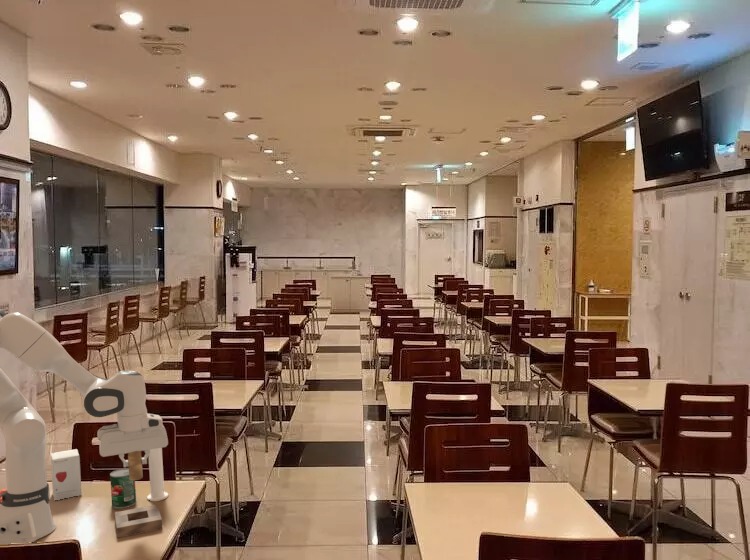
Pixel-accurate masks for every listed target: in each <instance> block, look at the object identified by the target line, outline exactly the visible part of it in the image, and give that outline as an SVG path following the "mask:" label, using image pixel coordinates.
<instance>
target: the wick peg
mask: <svg viewBox="0 0 750 560" xmlns="http://www.w3.org/2000/svg"><path fill="white" fill-rule="evenodd" d="M142 458H143V456H142V451H135V452H131V453H127V460H128V461H129V467H128V468H129V479H130V480H135V481H139V480H141V479H143V477H144V474H143V464H142Z"/></svg>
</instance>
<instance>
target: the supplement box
mask: <svg viewBox="0 0 750 560" xmlns="http://www.w3.org/2000/svg"><path fill="white" fill-rule="evenodd" d="M80 462H81V458H80V454H79V450H78V449H77V448H75V449H69V450H60V451H57V452H55V451H54V452H51V453H50V469H51V486H52V489H51V490H52V496H53V500H54V501H55V500H58V501H61V500H60V499H63V500H65V499H64V498H68V499H70V498H69V497H73V496H78V497H80V496H79V495H83V494H82V481H81V480H82V477H81V463H80ZM73 498H74V497H73Z"/></svg>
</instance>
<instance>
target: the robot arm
mask: <svg viewBox="0 0 750 560" xmlns="http://www.w3.org/2000/svg"><path fill="white" fill-rule="evenodd" d="M0 348H1V349H4V350H7V352H9V353H10V354H12V355H13V356H14V357H15V359H16V358H17V360H19V361H20V362H22V364H24V365H25V366H28V367H29V368H31V369H33V370H34V371H37V372H43V373H44V372H46V373H52V374H55V375H57V376H59V377H60V378H62V379H63V380H65V381H66V382H67V383H69V384H70V385H71V386H72V387H74V388H75V389H77V390H78V391H79V393H80V394H81V395H82V397H83V407H84V411H86V413H87V414H89V416H91V417H94V418H104V417H108V416H111V415H114V414H116V417H117V418H116V419H117V423H114V424H110V425H103V426H102V427H100V428H99V429H98V430H97V432H96V433H97V434H96V435H97V440H99V455H100V456H101V457H103V458H105V457H111V456H112V457H113V456H117V455H118V457H119V459H120V460H121V462H122V465H123V468H129V461H128V459H125V458H124V457H125V454H128V453H131V452H135V451H141V452H144V453H145V454H144V456H142V465H147V464H148V459H149V454H150V449H157V448H162V449H163V448H167V446H168V445H169V439H168V435H167V434H168V433H167V430H166V428H165V426H164V424H163V423H164V422H163V417H161V415H159V414H154V413H148V409H147V405H146V400H147V389H146V384H145V383H146V382H145V379H144V376H143V375H142V374H141V372H138V371H135V370H128V369H127V370H120V371H117V373H115V374H114V375H113V376H112V377H110V378H106V377H105V378H104V377H101V376H98V375H95V374H93V373H92V372H90V371H89V370H88V369H87V368H86V367H84V365H82V364H80V363H79V362H78V361H76V359H74V358H73V357H72V356H71V355H70V354H69V353H68V352H67V350H66V349H65V348H64V347H63V345H62V344H61V343H60V342H59V341H58V340H57V338H55V336H54V335H52V333H50V332H49V331H48V330H46V329H45V328H44V327H43V326H42V325H41V324H39V323H38V322H36V321H35V320H33V319H31V318H30V317H28V316H27V315H25V314H23V313H20V312H17V311H16V312H10V313H8V314H7V313H6V312H5V311H4V310H3V309H1V308H0ZM0 431H1V433H2V435H3V436H4V441H5V480H6V488H1V489H0V544H11V543H29V542H33V543H34V542H36V541H37V540H38V539H39V540H40V539H41V538H43V537H45V536H47V535H49V534H51V533H53V532H54V531H55V530H56V527H57V525H56V523H55V520H54V517H53V515H52V511H51V505H50V502H51V501H50V499H51V493H50V492H51V491H50V485H49V483H48V478H47V463H46V461H47V460H46V455H47V453H46V452H47V425H46V422H45V420H44V418H43V417H42V416H41V415H40V414H39V412H38V411H37V410H36V409H35V408H34V406H33V405H32V403H30V402H29V401H28V399H27V398H26V397H25V396H24V395H23V394H22V392H21V391H20V389H19V388H18V387H17V386H16V385H15V384H14V382H13V381H12V380H11V379H10V377H9V376H8V375H7V374H6V372H4V370H3V369H2V368H1V367H0Z"/></svg>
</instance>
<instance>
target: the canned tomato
mask: <svg viewBox="0 0 750 560" xmlns="http://www.w3.org/2000/svg"><path fill="white" fill-rule="evenodd" d="M109 478H110V493H111V498H110V499H111V507H112V508H114V509H123V508H124V509H125V508H128V506H129V507H131V505H132V506H133V504H134V505H135V504H137V494H136V480H130V479H129V467H124V468H120V469H116V470H113V471H112V472H110V473H109Z"/></svg>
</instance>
